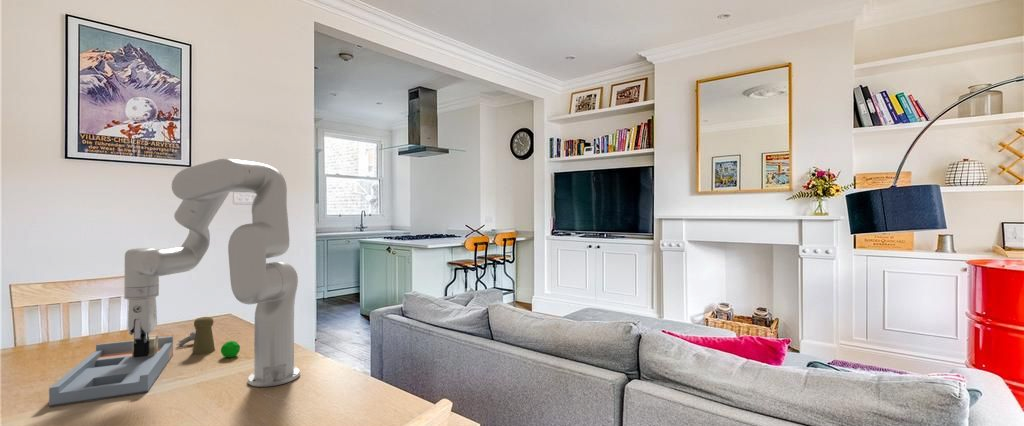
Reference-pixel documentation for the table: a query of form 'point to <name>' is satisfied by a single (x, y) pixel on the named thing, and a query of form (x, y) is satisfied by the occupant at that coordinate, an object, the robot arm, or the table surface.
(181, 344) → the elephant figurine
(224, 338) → the table surface
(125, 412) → the table surface
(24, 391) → the table surface
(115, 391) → the box
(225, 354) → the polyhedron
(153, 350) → the maple block
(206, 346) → the cork
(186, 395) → the table surface
